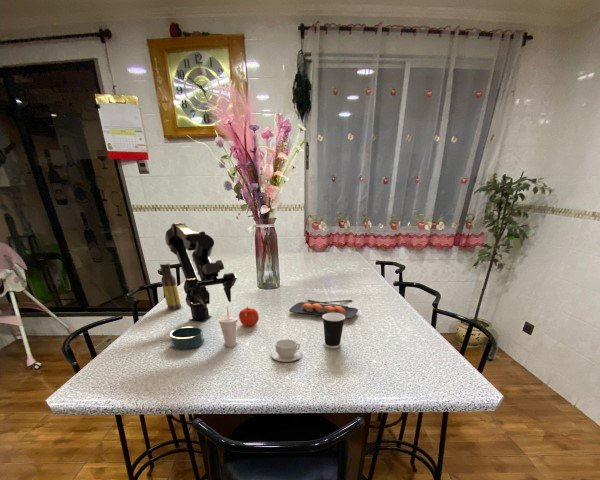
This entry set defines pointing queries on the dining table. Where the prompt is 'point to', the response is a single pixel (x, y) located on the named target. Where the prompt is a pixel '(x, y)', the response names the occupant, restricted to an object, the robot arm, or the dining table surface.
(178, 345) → the bowl
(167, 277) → the sauce bottle
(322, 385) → the dining table surface
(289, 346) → the teacup
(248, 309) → the apple
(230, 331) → the smoothie
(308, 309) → the sushi plate
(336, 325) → the dixie cup
